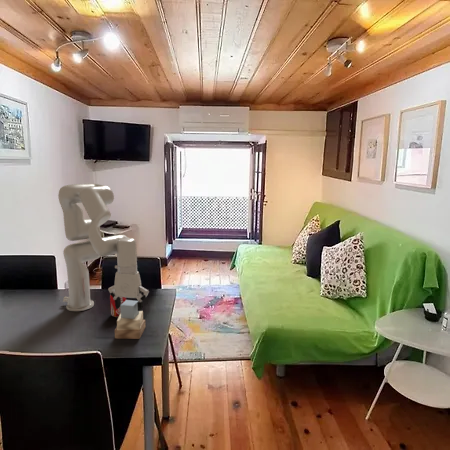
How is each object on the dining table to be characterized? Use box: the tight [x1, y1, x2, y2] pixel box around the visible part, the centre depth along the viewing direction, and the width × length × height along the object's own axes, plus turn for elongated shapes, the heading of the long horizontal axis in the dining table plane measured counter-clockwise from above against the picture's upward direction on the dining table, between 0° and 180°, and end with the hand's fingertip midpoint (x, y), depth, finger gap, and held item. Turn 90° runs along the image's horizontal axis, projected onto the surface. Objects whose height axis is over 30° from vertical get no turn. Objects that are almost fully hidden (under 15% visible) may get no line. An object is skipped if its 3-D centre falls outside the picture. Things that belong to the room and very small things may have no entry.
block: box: [120, 299, 139, 319], centre depth 146 cm, size 6×6×6 cm
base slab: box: [114, 319, 147, 340], centre depth 148 cm, size 10×10×4 cm
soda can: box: [109, 289, 127, 318], centre depth 164 cm, size 7×7×12 cm
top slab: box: [116, 310, 144, 330], centre depth 147 cm, size 9×9×4 cm
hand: (129, 308), depth 146 cm, fingers open, 9 cm apart
